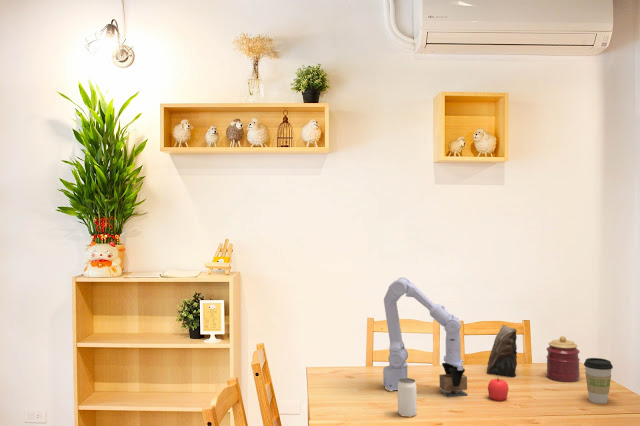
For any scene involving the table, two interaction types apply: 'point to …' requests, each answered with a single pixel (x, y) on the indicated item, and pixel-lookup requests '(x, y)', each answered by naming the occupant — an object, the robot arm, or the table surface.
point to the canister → (563, 360)
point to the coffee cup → (598, 379)
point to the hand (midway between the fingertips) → (453, 383)
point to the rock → (503, 353)
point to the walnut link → (447, 383)
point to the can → (407, 397)
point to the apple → (498, 389)
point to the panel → (454, 393)
